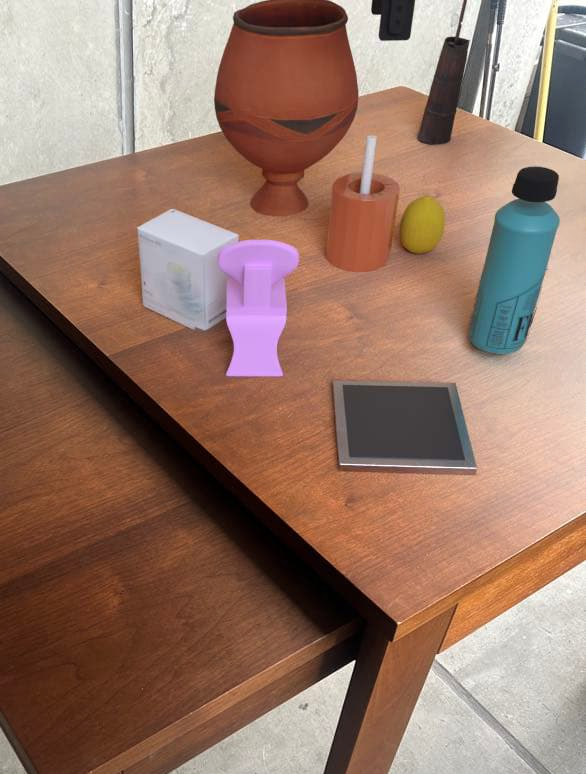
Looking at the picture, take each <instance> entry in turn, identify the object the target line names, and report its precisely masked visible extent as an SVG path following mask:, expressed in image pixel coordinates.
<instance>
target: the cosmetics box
mask: <svg viewBox="0 0 586 774" xmlns="http://www.w3.org/2000/svg"><path fill="white" fill-rule="evenodd" d="M136 229H137V231H136V233H137V241H138V243H137V244H138V253H139V269H140V281H141V283H140V284H141V296H142V307H145V308H146V309H148V310H151V311H153V312H155V313H157V314H159V315H161V316H163V317H165V318H167V319H169V320H172V321H174V322H176V323H178V324H180V325H181V326H184V327H185V328H188V329H190V330H192V331H195V330H196V328H197V329H199V330H202V331H207V330H209V329H210V328H212V327H214V326H215V325H217V324H218V323H220V322H222V321H224V320H226V307H227V279H233V278H231V277H230V276H229V275H227V274H225V273H224V272H222V271H221V269H220V268H219V265H218V253H219V252H220V250H221V249H223V248H224V247H226V246H228V245H230V244H233V243H236V242H240V235H239V234H238V233H235V232H233V231H232V230H228V229H226V228H223V227H220V226H217V225H215V224H213V223H211V222H208V221H205V220H203V219H200V218H198V217H195V216H193V215H190V214H188V213H185V212H183V211H180V210H178V209H176V208H170V209H168V210H167V211H164V212H163V213H161V214H159V215H157V216H155V217H153V218H152V219H150V220H148V221H146V222H144V223H143V224H141V225H139V226H137V228H136Z"/></svg>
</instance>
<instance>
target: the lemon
mask: <svg viewBox="0 0 586 774" xmlns="http://www.w3.org/2000/svg"><path fill="white" fill-rule="evenodd" d="M445 226H446V215H445V211H444V208H443V206H442V204H441V203H440V202H439V200H437V199H435V198H433V197H431V195H429V194H425V195H424V196H421V197H418V198H415V199H414V200H412V201H411V202H409V204H408V205H407V206H406V208H405V210H404V212H403V214H402V217H401V220H400V223H399V238H400V242H401V244H402V245H403V247H404V248H405V249H406V250H407V251H408V252H411V253H412V254H413V253H414V254H417V255H420V254H421V255H422V254H427V253H430V251H432V250H434V249H435V248H436V247H437V246H438V244H439V243H440V241H441V239H442V237H443V235H444V232H445V228H446V227H445Z"/></svg>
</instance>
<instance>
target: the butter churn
mask: <svg viewBox="0 0 586 774" xmlns="http://www.w3.org/2000/svg"><path fill="white" fill-rule="evenodd" d="M467 3H468V0H463V1H462V5H461V9H460V14H459V19H458V23H457V28H456V32H455V36H447V37H445V38H444V41H443V45H442V48H441V51H440V54H439V57H438V61H437V64H436V68H435V72H434V74H433V78H432V81H431V85H430V89H429V93H428V97H427V101H426V105H425V107H424V111H423V115H422V118H421V122H420V125H419V131H418V133H417V139H418V140H419V141H420V142H422V143H425V144H428V145H434V144H447V143H449V142H450V141H451V139H452V133H453V128H454V124H455V118H456V114H457V109H458V105H459V99H460V96H461V90H462V85H463V80H464V74H465V70H466V66H467V65H466V64H467V60H468V54H469V53H468V51H469V47H470V42H471V40H470V39H467V38H463V37H460V35H461V30H462V27H463V24H462V23H463V22H464V21H463V20H464V17H465V11H466V7H467Z"/></svg>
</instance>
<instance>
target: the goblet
mask: <svg viewBox="0 0 586 774" xmlns="http://www.w3.org/2000/svg"><path fill="white" fill-rule="evenodd" d="M232 20H233V23H232V27H231V29H230V32H229V36H228V38H227V40H226V41H227V42H226V44H225V46H224V49H223V53H222V56H221V60H220V63H219V66H218V70H217V75H216V81H215V85H214V86H215V88H214V96H213V105H214V111H215V116H216V121H217V123H218V126H219V128H220V130H221V132H222V133H223V135H224V137H225V139H226V140H227V141H228V143H229V144H230V145H231V146H232V148H233V149H234V150H235V151H236V152H237V153H238V155H239V154H240V155H241V156H242V157H243V158H244V159H245V160H247V161H248V162H249V163H251V164H252V165H253V166H256V167H257V168H258V169H260V170H261V169H262V170H261V175H262V176H263V178H264V179H265V182H264V184H262V186H261V187H260V188H259V189H258V190H257V192H255V194H254V195H253V196H252V198H251V200H250V202H249V205H250V207H251V209H252V210H253V211H254V212H255V213H258V214H260V215H263V216H269V217H279V218H281V217H289V216H295V215H297V214H300V213H303V212H304V211H306V210H307V209H308V207H309V199H308V198H307V196H306V195H305V193H304V192H303V190H302V189H301V188H300V187H299V185H298V182H300V181H301V180H302V179H303V178H304V177H305V170H307V169H308V168H310V167H312V166H314V165H315V164H317V163H318V162H320V161H322V160H323V158H325V157H326V156H328V155H329V154H330V153H331V152H332V151H333V150H334V149H335V148H336V147H337V146H338V145H339V144H340V142H341V141H342V140H343V139H344V138H345V136H346V134H347V133H348V131H349V130H350V128H351V126H352V124H353V122H354V120H355V119H356V114H357V110H358V106H359V86H358V85H359V84H358V76H357V71H356V67H355V62H354V57H353V53H352V48H351V45H350V40H349V36H348V31H347V23H348V20H349V16H348V13H347V11H346V9H345V8H344V7H343V6H341V5H339V4H338V3H335V2H333V1H332V0H262V1H259V2H254V3H252V4H249V5H247V6H245V7H243V8H241V9H237V10H236V11H234V12H233V15H232Z"/></svg>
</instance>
